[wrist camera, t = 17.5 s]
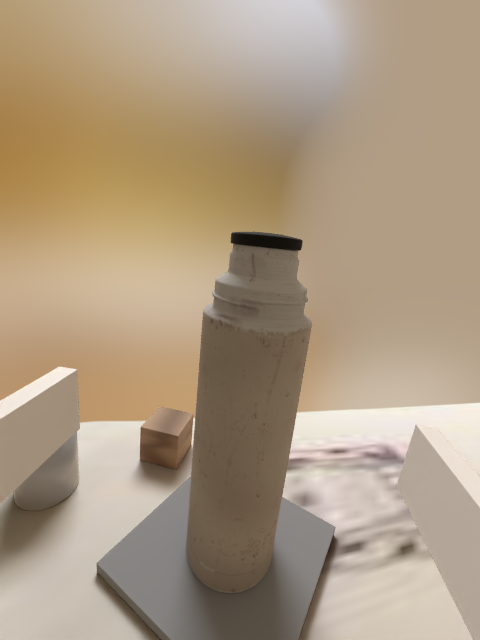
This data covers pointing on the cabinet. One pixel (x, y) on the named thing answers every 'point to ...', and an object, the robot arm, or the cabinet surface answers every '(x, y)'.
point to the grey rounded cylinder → (51, 479)
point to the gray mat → (205, 603)
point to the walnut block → (166, 437)
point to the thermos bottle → (246, 410)
